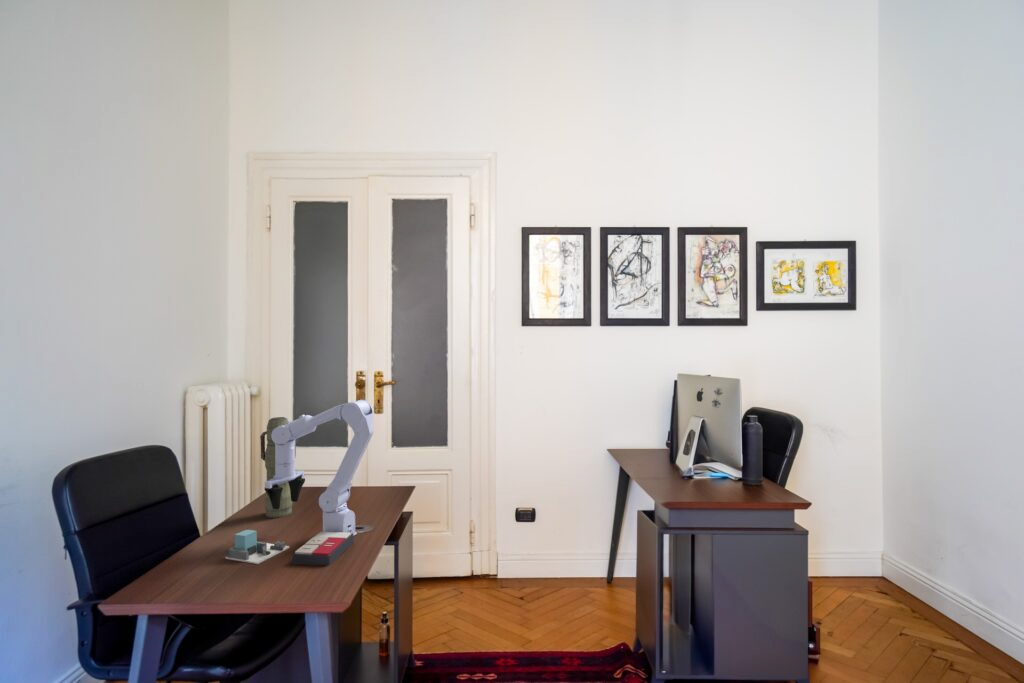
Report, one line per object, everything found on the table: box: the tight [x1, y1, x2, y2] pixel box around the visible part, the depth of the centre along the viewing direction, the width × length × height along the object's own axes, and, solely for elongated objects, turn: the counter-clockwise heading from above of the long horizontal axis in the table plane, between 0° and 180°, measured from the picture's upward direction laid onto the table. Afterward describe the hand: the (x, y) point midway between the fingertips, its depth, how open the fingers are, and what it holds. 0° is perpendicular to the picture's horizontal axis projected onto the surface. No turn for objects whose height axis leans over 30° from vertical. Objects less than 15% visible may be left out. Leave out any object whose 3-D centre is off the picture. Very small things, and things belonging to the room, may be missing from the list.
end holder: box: [226, 541, 268, 560], centre depth 141 cm, size 7×7×3 cm
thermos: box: [259, 416, 297, 519], centre depth 177 cm, size 9×12×35 cm
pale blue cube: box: [234, 529, 258, 555], centre depth 142 cm, size 5×4×6 cm
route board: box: [225, 540, 291, 565], centre depth 143 cm, size 12×12×2 cm
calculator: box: [292, 531, 355, 566], centre depth 142 cm, size 11×4×15 cm
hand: (285, 504), depth 156 cm, fingers open, 7 cm apart
